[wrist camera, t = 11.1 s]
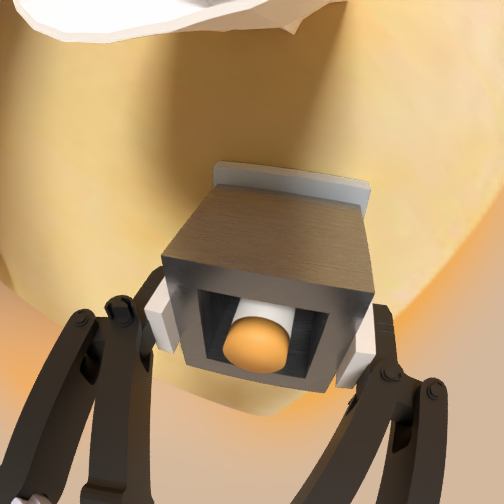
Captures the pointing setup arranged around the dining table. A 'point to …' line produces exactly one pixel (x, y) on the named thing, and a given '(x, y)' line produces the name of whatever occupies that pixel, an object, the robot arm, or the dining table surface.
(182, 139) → the dining table surface
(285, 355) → the keeper post
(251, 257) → the grey square socket box
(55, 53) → the dining table surface
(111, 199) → the dining table surface
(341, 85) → the dining table surface
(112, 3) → the cup
